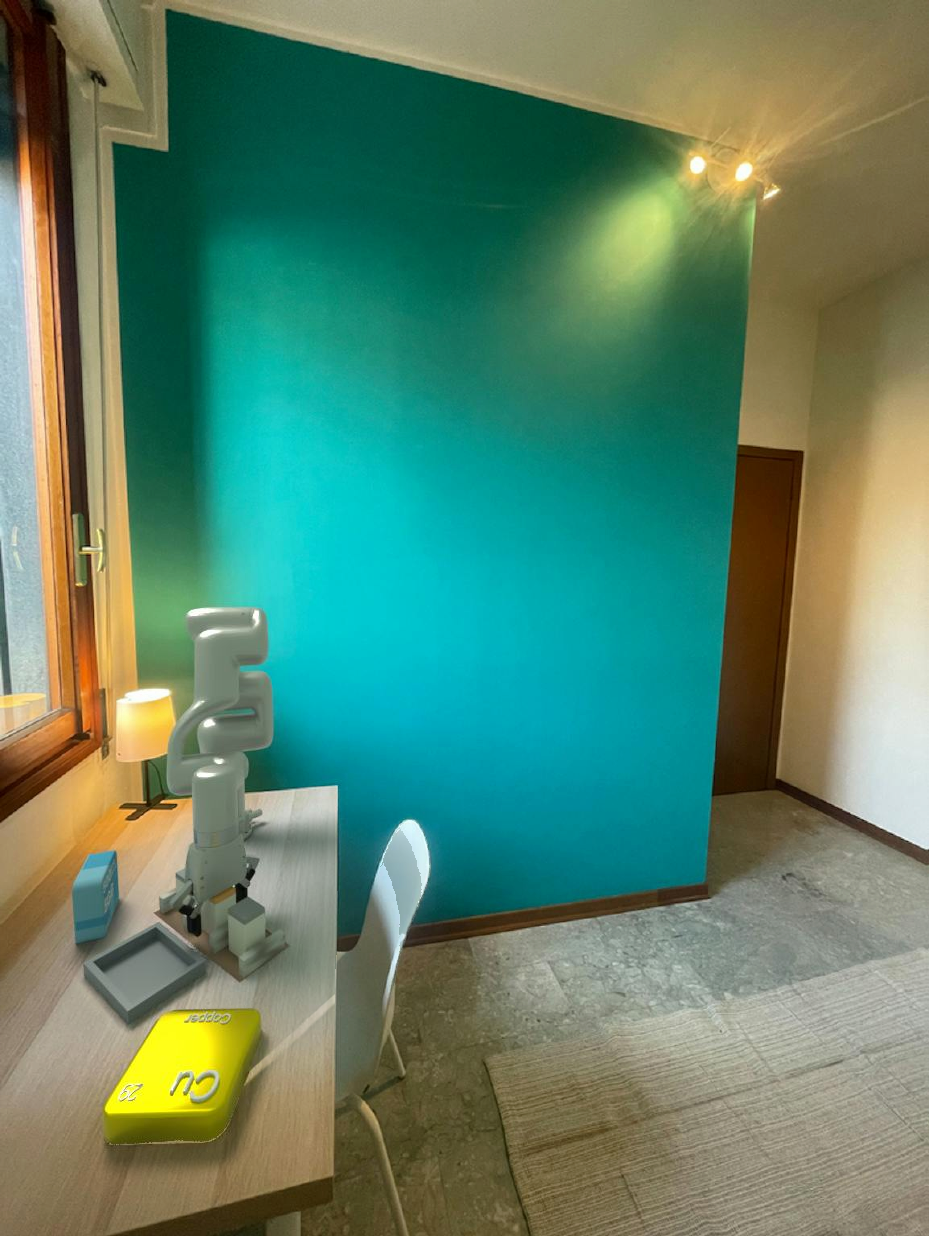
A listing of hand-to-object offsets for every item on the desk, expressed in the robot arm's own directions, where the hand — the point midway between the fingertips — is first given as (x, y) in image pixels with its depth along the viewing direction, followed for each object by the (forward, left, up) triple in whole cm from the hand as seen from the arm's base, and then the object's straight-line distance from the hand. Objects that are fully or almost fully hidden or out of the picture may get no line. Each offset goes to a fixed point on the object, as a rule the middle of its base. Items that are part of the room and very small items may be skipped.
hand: (218, 918), depth 96 cm
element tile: (+18, +23, -4) cm, 29 cm away
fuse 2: (0, +9, -2) cm, 9 cm away
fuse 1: (0, -9, -2) cm, 9 cm away
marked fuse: (0, 0, -2) cm, 2 cm away
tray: (+13, 0, -3) cm, 13 cm away
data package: (+12, -21, -3) cm, 24 cm away
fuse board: (0, 0, -3) cm, 3 cm away
